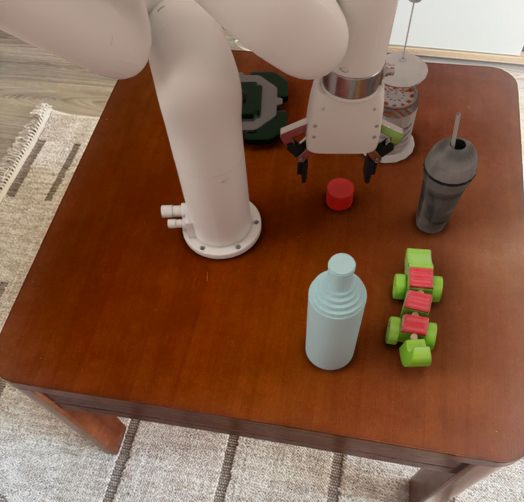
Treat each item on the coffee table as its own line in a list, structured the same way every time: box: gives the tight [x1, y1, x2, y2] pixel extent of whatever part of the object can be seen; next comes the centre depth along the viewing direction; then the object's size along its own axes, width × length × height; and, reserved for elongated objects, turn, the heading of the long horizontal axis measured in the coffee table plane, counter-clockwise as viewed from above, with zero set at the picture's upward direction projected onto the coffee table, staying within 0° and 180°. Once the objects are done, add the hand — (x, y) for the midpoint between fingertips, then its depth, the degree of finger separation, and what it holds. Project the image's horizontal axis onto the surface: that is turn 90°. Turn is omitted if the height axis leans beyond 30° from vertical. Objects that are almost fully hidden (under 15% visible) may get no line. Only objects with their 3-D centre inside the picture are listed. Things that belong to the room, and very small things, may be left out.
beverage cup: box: [415, 112, 479, 234], centre depth 74 cm, size 7×7×20 cm
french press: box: [363, 0, 429, 164], centre depth 80 cm, size 10×12×25 cm
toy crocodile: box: [385, 247, 444, 368], centre depth 73 cm, size 20×7×6 cm, turn 167°
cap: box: [325, 177, 355, 212], centre depth 85 cm, size 4×4×3 cm
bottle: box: [304, 252, 368, 371], centre depth 65 cm, size 7×7×20 cm
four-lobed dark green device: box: [238, 70, 289, 146], centre depth 94 cm, size 18×18×5 cm
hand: (334, 176), depth 81 cm, fingers open, 9 cm apart
